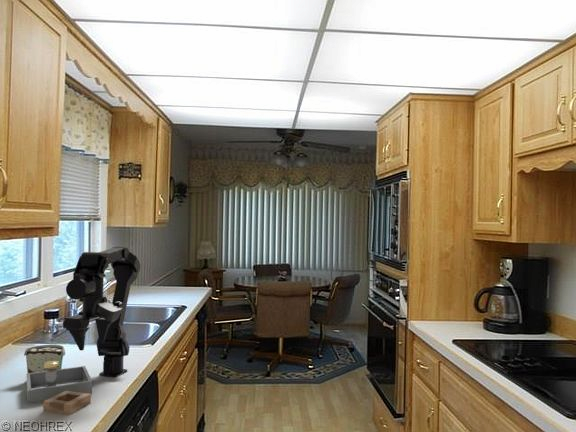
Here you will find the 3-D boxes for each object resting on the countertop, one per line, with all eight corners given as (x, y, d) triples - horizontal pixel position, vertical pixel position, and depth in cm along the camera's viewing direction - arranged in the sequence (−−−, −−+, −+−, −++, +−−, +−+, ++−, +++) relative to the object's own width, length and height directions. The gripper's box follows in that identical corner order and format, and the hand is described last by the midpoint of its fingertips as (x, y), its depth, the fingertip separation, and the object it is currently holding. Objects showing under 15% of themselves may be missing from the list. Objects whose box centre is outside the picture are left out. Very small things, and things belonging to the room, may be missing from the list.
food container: (71, 374, 154) (72, 344, 155) (63, 381, 148) (63, 349, 148) (33, 374, 154) (33, 344, 154) (23, 381, 148) (23, 349, 148)
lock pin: (50, 393, 136) (51, 360, 136) (61, 395, 135) (62, 361, 135) (40, 398, 132) (40, 364, 132) (51, 400, 131) (52, 365, 131)
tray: (26, 390, 140) (26, 373, 140) (84, 381, 148) (85, 365, 148) (27, 409, 126) (27, 390, 126) (91, 399, 134) (92, 381, 134)
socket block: (65, 405, 129) (65, 390, 129) (90, 408, 127) (90, 393, 127) (43, 417, 122) (43, 401, 122) (69, 420, 120) (69, 405, 120)
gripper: (95, 300, 130) (94, 357, 130) (134, 291, 148) (133, 340, 148) (61, 298, 133) (60, 353, 133) (104, 289, 151) (103, 338, 151)
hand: (92, 346), depth 141 cm, fingers open, 9 cm apart
